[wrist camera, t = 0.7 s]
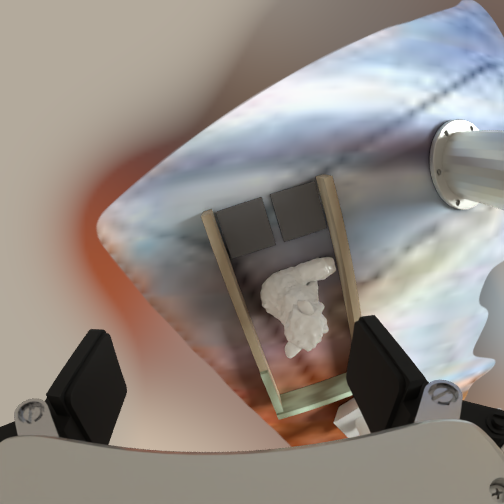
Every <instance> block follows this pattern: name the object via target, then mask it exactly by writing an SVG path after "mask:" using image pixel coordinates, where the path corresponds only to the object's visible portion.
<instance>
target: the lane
mask: <svg viewBox="0 0 504 504" xmlns="http://www.w3.org/2000/svg"><path fill="white" fill-rule="evenodd" d="M316 180H317V184H318V188H319V192H320V195H321V199H322V203H323V207H324V211H325V215H326V219H327V223H328V227H329V231H330V236H331V240H332V244H333V249H334V253H335V258H336V262H337V267H338V272H339V276H340V281H341V286H342V291H343V296H344V301H345V307H346V312H347V318H348V323H349V329H350V335H351V341H352V337H353V330H354V323H355V322H356V321H358V320H359V318H360V317H361V311H360V304H359V298H358V292H357V286H356V281H355V275H354V270H353V264H352V259H351V254H350V249H349V244H348V240H347V235H346V230H345V226H344V221H343V217H342V213H341V208H340V204H339V200H338V196H337V192H336V188H335V184H334V180H333V176H331V175H325V174H323V175H319V176H316ZM201 218H202V221H203V224H204V226H205V229H206V232H207V235H208V238H209V240H210V243H211V246H212V249H213V251H214V254H215V257H216V260H217V262H218V265H219V268H220V271H221V273H222V276H223V279H224V281H225V284H226V287H227V289H228V292H229V295H230V297H231V300H232V302H233V305H234V308H235V310H236V313H237V315H238V318H239V321H240V323H241V326H242V328H243V331H244V333H245V336H246V338H247V341H248V344H249V346H250V349H251V351H252V354H253V356H254V359H255V361H256V363H257V366H258V368H259V371H260V375H261V378H262V380H263V382H264V385H265V387H266V390H267V392H268V394H269V397H270V399H271V402H272V404H273V406H274V409H275V411H276V413H277V417H278V419H283V418H286V417H289V416H293V415H296V414H299V413H303V412H306V411H309V410H312V409H315V408H318V407H321V406H324V405H327V404H330V403H332V402H335V401H338V400H341V399H343V398H346V397H349V396H351V395H353V394H352V392H351V390H350V388H349V386H348V384H347V380H346V373H347V372H346V373H344V374H341V375H338V376H335V377H333V378H330V379H327V380H324V381H321V382H319V383H316V384H313V385H310V386H307V387H304V388H301V389H297V390H294V391H291V392H288V393H284V394H281V395H279V392H278V389H277V387H276V384H275V382H274V379H273V376H272V374H271V371H270V368H269V366H268V363H267V361H266V358H265V355H264V353H263V350H262V347H261V345H260V342H259V339H258V337H257V334H256V331H255V328H254V326H253V323H252V320H251V318H250V315H249V312H248V309H247V307H246V304H245V301H244V298H243V296H242V293H241V290H240V287H239V285H238V282H237V279H236V276H235V273H234V271H233V268H232V265H231V262H230V259H229V257H228V254H227V251H226V248H225V245H224V242H223V240H222V237H221V234H220V231H219V228H218V225H217V222H216V219H215V216H214V214H213V211H212V209H210V210H207V211H204V212H203V214H202V216H201Z"/></svg>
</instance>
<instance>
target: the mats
mask: <svg viewBox="0 0 504 504" xmlns="http://www.w3.org/2000/svg"><path fill="white" fill-rule="evenodd" d="M270 196H271V200H272V203H273V206H274V210H275V213H276V216H277V220H278V223H279V227H280V230H281V233H282V237H283V240H284V242H286V241H289V240H292V239H295V238H298V237H302V236H305V235H308V234H311V233H314V232H317V231H320V230H323V229H326V228H327V227H326V223H325V219H324V215H323V211H322V207H321V203H320V199H319V195H318V191H317V188H316V184H315V181H313V182H310V183H306V184H303V185H299V186H296V187H293V188H289V189H286V190H283V191H279V192H276V193H273V194H270ZM216 215H217V218H218V220H219V223H220V226H221V229H222V232H223V235H224V238H225V241H226V244H227V246H228V249H229V252H230V255H231V258H232V259H233V258H236V257H240V256H243V255H246V254H249V253H252V252H255V251H258V250H261V249H264V248H267V247H271V246H274V245H276V243H275V240H274V237H273V233H272V230H271V227H270V224H269V220H268V217H267V214H266V210H265V207H264V204H263V201H262V197H260V198H257V199H254V200H251V201H247V202H244V203H241V204H238V205H235V206H232V207H229V208H226V209H223V210H220V211H217V212H216Z"/></svg>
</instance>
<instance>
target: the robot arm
mask: <svg viewBox="0 0 504 504" xmlns="http://www.w3.org/2000/svg"><path fill="white" fill-rule="evenodd" d="M430 171H431V177H432V180H433V184H434V186H435V188H436V190H437V192H438V194H439V195H440V197H441V198H442V199H443V200H444V201H445V202H446V203H447V204H448V205H450V206H451V207H454V208H457V209H462V210H465V209H470V208H473V207H474V206H476V205H477V204H478V203H481V204H485V205H488V206H492V207H495V208H499V209H502V210H504V131H500V130H478V128H476V127H475V126H474V125H473V124H471V123H470V122H468V121H465V120H451V121H448V122H446V123H445V124H443V125H442V126H441V127H440V128H439V130H438V131H437V132H436V134H435V136H434V139H433V141H432V145H431V150H430ZM346 380H347V384H348V386H349V388H350V390H351V392H352V394H353V396H354V399H355V401H356V403H357V405H358V407H359V409H360V411H361V413H362V415H363V418H364V420H365V422H366V424H367V426H368V428H369V430H370V434H365V435H361V436H356V437H351V438H346V439H341V440H335V441H330V442H324V443H318V444H311V445H304V446H297V447H288V448H279V449H268V450H256V451H238V452H176V451H158V450H146V449H136V448H126V447H118V446H111V445H108V444H109V441H110V438H111V435H112V433H113V429H114V427H115V424H116V421H117V418H118V415H119V413H120V410H121V407H122V405H123V402H124V399H125V396H126V393H127V387H126V384H125V381H124V378H123V375H122V372H121V369H120V366H119V363H118V360H117V356H116V353H115V350H114V347H113V343H112V340H111V337H110V335H109V334H108V333H106V331H105V330H99V329H91V330H89V331H88V333H87V334H86V336H85V337H84V338H83V340H82V341H81V343H80V344H79V346H78V347H77V349H76V350H75V351H74V353H73V354H72V356H71V357H70V359H69V360H68V362H67V363H66V365H65V366H64V367H63V369H62V370H61V372H60V374H59V375H58V376H57V378H56V380H55V381H54V383H53V384H52V386H51V387H50V389H49V391H48V392H47V394H46V396H47V399H46V400H45V402H44V401H43V400H41V399H29V400H26V401H24V402H22V403H21V404H20V405H19V406H18V407H17V408H16V410H15V413H14V419H15V421H14V422H12V423H9V424H7V425H4V426H2V427H0V504H504V411H503V410H500V409H496V408H491V407H487V406H483V405H479V404H475V403H471V402H467V401H463V400H462V398H463V397H462V392H461V390H460V388H459V387H458V386H457V385H455V384H454V383H452V382H449V381H446V380H435V381H432V382H430V383H429V382H428V381H427V380H426V379H425V377H424V375H423V374H422V373H421V372H420V370H419V369H418V368H417V367H416V365H415V364H414V363H413V361H412V360H411V359H410V358H409V356H408V355H407V354H406V353H405V351H404V350H403V349H402V348H401V347H400V345H399V344H398V343H397V342H396V340H395V339H394V338H393V337H392V335H391V334H390V333H389V332H388V331H387V329H386V328H385V327H384V326H383V325H382V323H381V322H380V321H379V320H378V319H377V317H376V316H375V315H371V316H363V317H360V318H359V320H358V321H356V322H355V323H354V330H353V337H352V343H351V350H350V356H349V362H348V368H347V373H346Z"/></svg>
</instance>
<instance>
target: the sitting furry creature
mask: <svg viewBox="0 0 504 504" xmlns="http://www.w3.org/2000/svg"><path fill="white" fill-rule="evenodd" d="M335 271H336V267H335V262H334V260H333V258H331V257H324V258H323V257H322V258H318V257H317V258H316V259H312V260H311V261H309V262H308V261H306V262H305V263H300V264H298V265H297V266H295V267H289V268H288V269H285V270H280V271H278V272H277V273H273V274H272V275H271V276H270V277H269V278H268V279H267V280H266V281H265V282H264V283H263V284H262V289H261V292H260V295H261V296H260V297H261V300H262V306H263V307H264V308H266V312H267V313H270V314H271V315H273V316H274V317H275V318H277V319H279V320H280V321H281V323H282V324H283V325H284V329H285V332H284V334H285V336H286V338H287V340H288V343H287V344H286V346H285V353H286V355H287V357H288V358H292V357H294V356H295V355H296V354H297V353H299V352H300V350H301V349H302V348H303V349H305V350H306V351H310V350H312V348H315V347H316V344H317V343H319V342H321V338H322V336H323V333H327V332H328V330H329V329H328V326H327V320H326V318H325V317H324V316H323V314H322V311H323V309H324V305H323V303H321V302H320V303H319V297H318V288H319V286H318V285H317V280H324V279H326V278H327V277H328V276H329V275H331V274H333V273H334V272H335Z"/></svg>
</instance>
